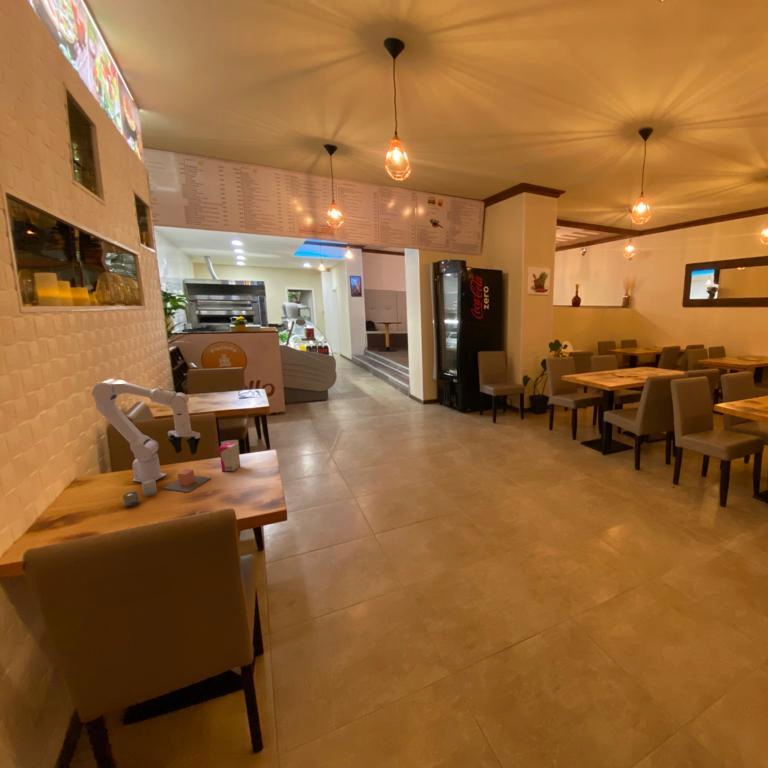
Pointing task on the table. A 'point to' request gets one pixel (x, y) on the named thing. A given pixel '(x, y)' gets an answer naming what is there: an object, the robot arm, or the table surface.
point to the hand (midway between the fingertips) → (186, 453)
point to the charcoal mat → (187, 489)
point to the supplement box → (229, 457)
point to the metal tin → (131, 499)
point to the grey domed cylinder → (149, 487)
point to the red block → (186, 477)
